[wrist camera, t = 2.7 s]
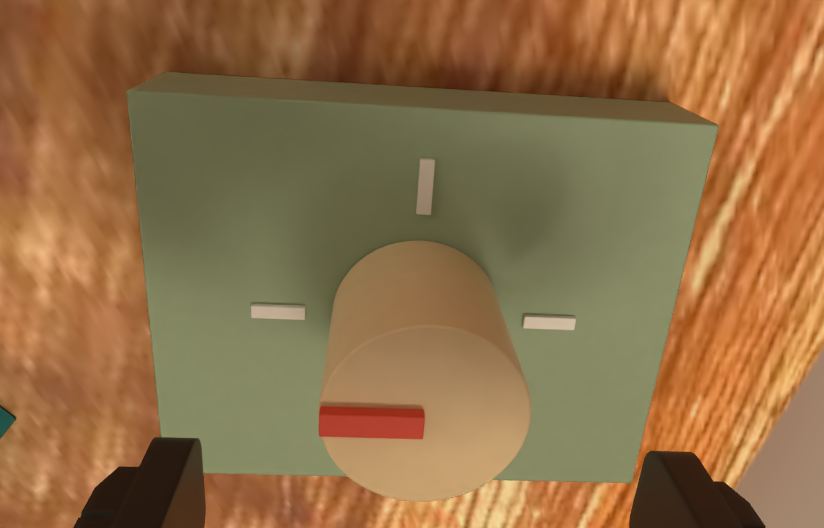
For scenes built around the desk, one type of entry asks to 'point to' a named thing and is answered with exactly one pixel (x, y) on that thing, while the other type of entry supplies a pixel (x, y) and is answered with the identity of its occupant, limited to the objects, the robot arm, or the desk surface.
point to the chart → (5, 421)
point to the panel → (398, 222)
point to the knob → (421, 376)
